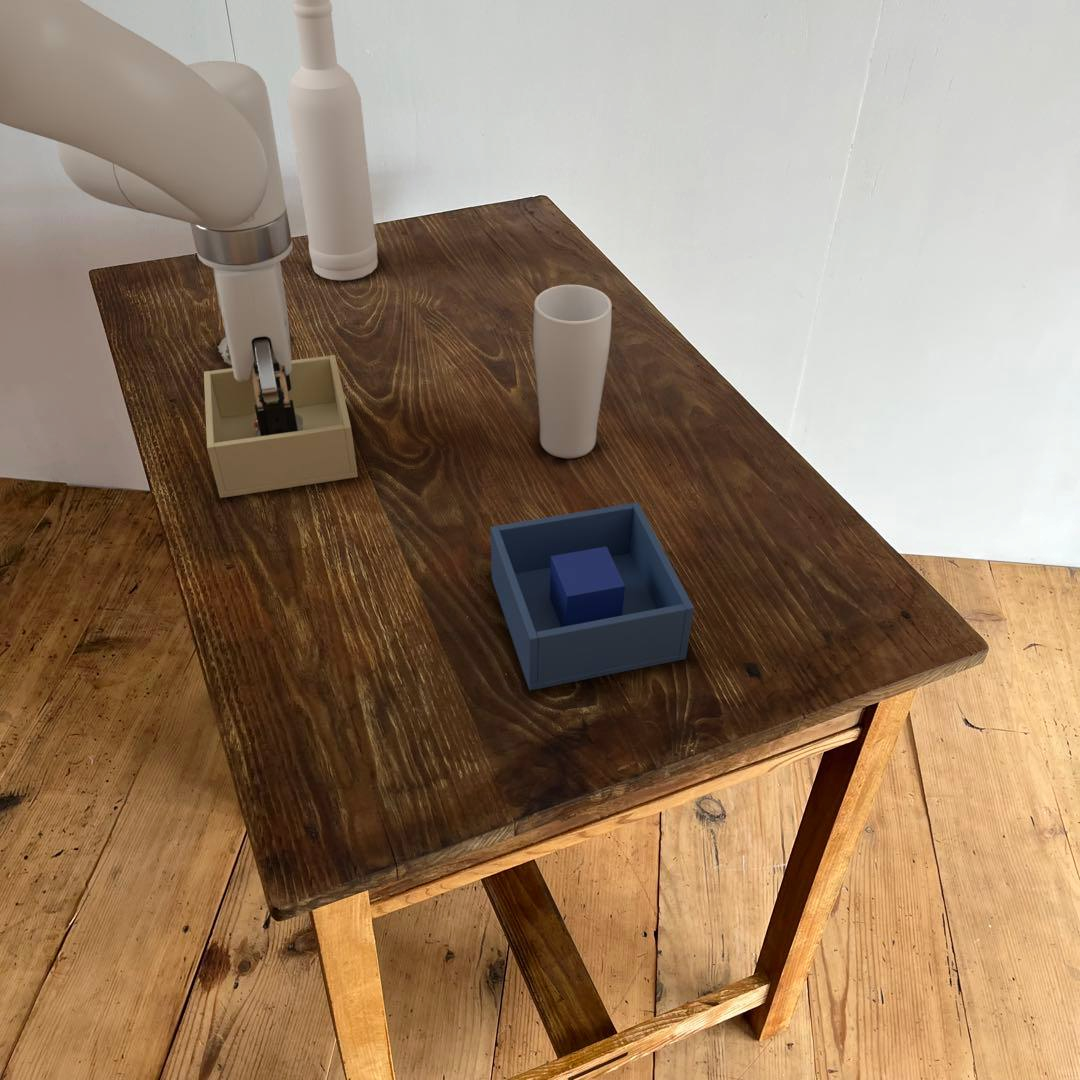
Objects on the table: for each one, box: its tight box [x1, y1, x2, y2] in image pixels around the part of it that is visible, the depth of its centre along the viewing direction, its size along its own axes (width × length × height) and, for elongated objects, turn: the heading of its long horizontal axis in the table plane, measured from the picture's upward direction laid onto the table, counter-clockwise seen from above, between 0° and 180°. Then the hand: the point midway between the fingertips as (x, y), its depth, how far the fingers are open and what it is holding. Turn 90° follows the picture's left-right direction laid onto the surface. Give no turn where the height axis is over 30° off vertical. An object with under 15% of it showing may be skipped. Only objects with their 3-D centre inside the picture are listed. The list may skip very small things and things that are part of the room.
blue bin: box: [489, 501, 695, 691], centre depth 78 cm, size 12×12×6 cm
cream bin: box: [203, 354, 359, 499], centre depth 93 cm, size 12×12×6 cm
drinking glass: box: [532, 284, 613, 460], centre depth 91 cm, size 7×7×15 cm
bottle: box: [287, 0, 379, 282], centre depth 112 cm, size 8×8×30 cm
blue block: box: [550, 547, 625, 627], centre depth 78 cm, size 4×4×4 cm
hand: (277, 414), depth 93 cm, fingers open, 7 cm apart
